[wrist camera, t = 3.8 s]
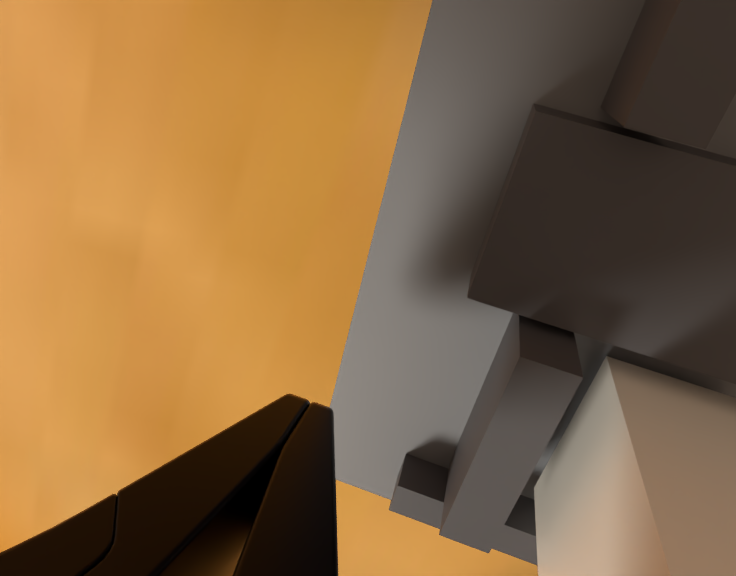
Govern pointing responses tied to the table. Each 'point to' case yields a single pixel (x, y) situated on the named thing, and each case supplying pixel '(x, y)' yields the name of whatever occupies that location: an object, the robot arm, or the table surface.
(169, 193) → the table surface
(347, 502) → the table surface
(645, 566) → the fader
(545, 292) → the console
